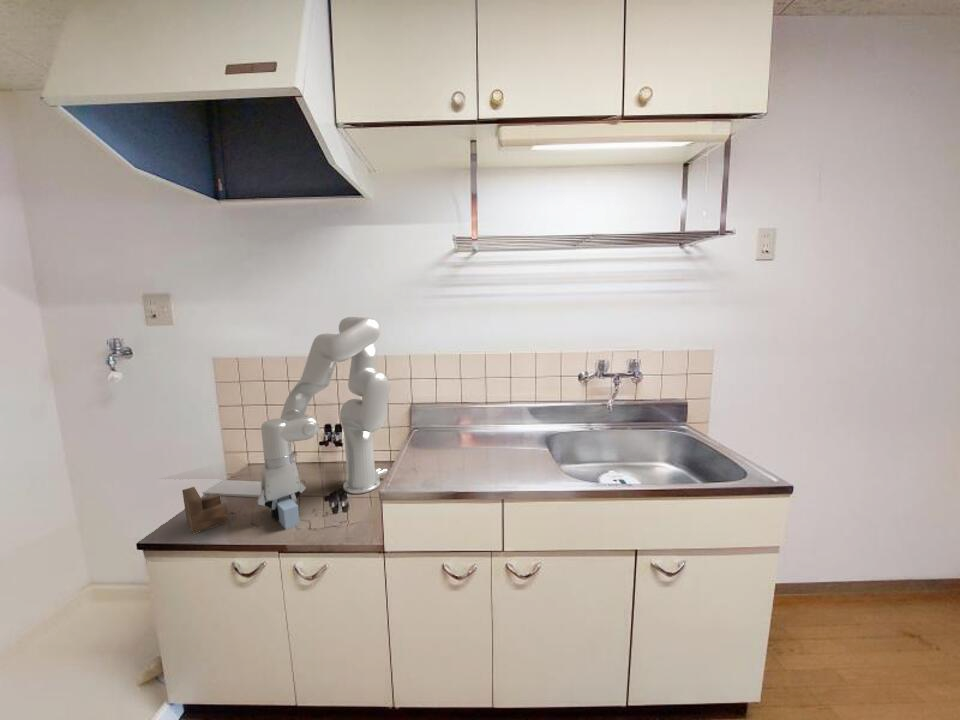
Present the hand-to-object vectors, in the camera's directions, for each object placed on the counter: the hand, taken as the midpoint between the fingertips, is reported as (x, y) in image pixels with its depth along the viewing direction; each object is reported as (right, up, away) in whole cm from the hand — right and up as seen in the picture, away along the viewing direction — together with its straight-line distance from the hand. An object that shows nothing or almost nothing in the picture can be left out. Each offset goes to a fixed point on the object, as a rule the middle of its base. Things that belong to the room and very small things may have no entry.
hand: (284, 515), depth 125 cm
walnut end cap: (-23, -1, -1) cm, 23 cm away
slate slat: (0, -1, 0) cm, 1 cm away
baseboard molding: (-20, +1, +19) cm, 28 cm away
